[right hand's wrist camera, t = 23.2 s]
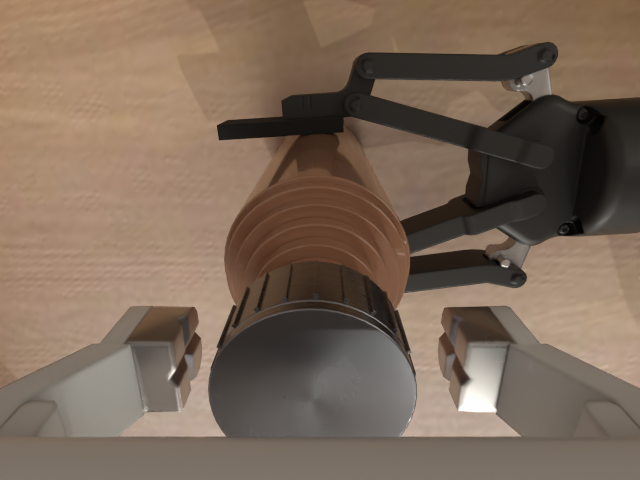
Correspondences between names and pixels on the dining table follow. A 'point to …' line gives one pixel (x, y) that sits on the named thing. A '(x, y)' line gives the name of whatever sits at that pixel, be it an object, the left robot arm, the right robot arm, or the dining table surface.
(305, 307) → the cap
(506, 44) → the dining table surface
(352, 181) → the bottle
